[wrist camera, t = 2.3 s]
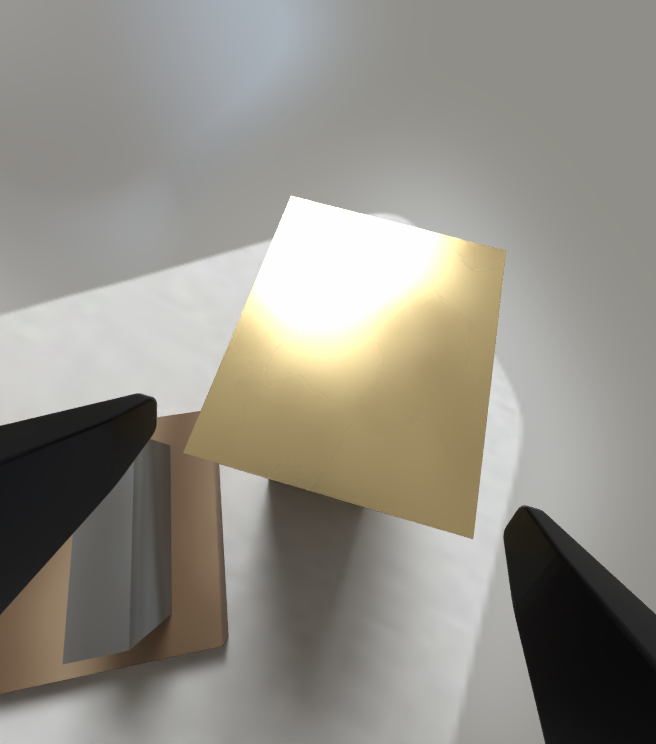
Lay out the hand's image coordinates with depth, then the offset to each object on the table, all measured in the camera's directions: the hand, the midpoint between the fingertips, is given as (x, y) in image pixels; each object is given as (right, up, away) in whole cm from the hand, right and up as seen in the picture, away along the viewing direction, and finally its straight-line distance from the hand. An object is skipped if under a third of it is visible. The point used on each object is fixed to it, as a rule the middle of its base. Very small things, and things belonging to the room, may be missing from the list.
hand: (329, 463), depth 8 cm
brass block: (0, -1, +10) cm, 10 cm away
